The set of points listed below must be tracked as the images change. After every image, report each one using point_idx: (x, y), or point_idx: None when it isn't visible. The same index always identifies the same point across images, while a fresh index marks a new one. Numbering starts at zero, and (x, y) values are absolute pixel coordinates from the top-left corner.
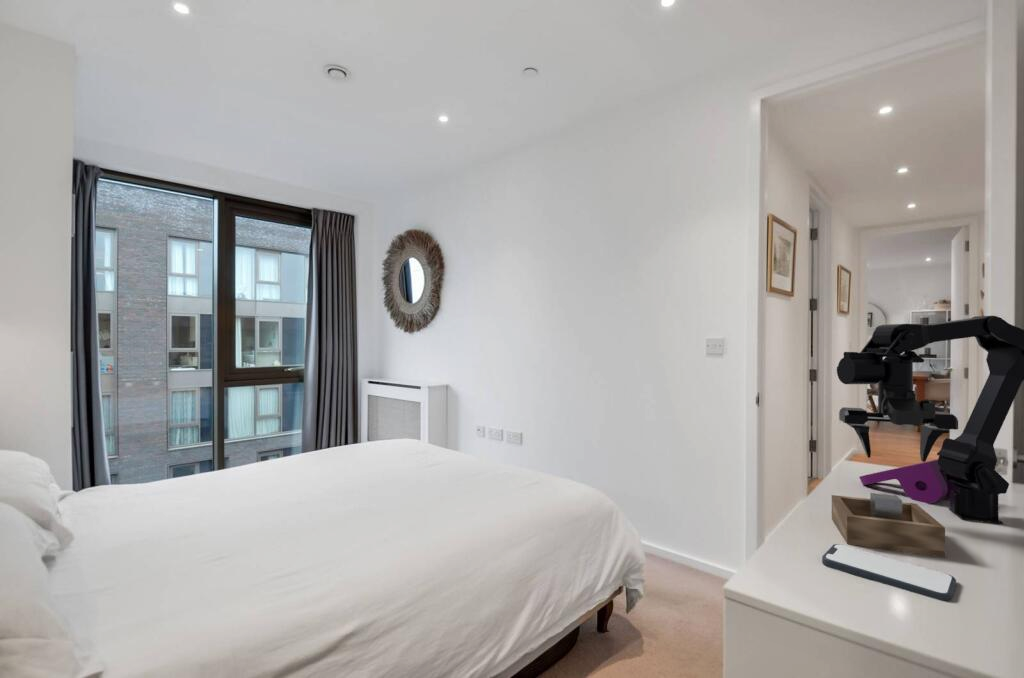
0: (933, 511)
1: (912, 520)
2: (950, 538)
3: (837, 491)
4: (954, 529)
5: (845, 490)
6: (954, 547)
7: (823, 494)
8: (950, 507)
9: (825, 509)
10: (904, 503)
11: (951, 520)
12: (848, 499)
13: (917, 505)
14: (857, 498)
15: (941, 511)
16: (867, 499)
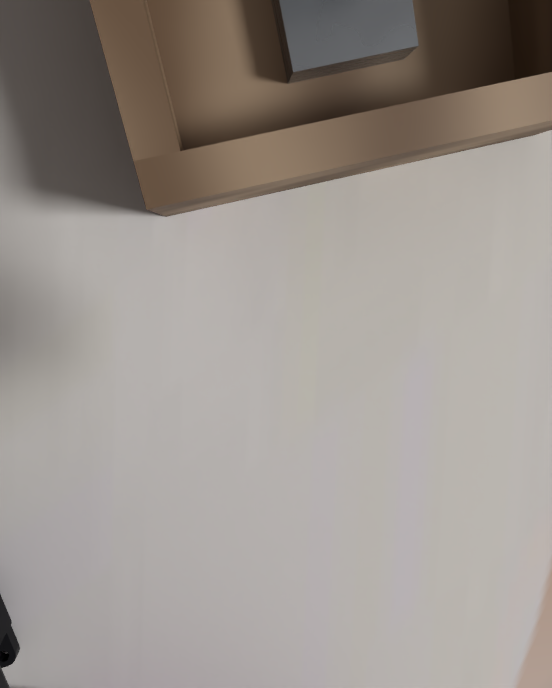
0: (86, 586)
1: (180, 140)
2: (21, 161)
3: (472, 642)
4: (2, 338)
5: (438, 681)
6: (5, 3)
7: (536, 553)
8: (3, 622)
9: (547, 298)
10: (218, 164)
11: (13, 486)
12: (548, 76)
13: (141, 159)
14: (498, 109)
15: (53, 609)
16: (439, 120)
